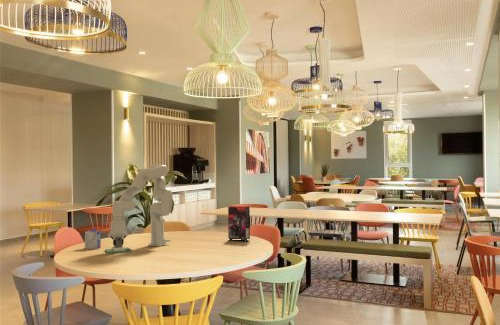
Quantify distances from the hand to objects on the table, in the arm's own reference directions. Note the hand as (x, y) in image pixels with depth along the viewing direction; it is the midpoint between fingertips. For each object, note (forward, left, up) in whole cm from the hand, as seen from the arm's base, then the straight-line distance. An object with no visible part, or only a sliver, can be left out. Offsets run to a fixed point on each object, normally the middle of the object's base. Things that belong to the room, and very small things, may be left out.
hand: (118, 245), depth 310 cm
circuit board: (0, 0, -4) cm, 4 cm away
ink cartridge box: (+14, -22, -4) cm, 26 cm away
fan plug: (0, +2, -2) cm, 3 cm away
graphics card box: (-94, -5, -4) cm, 94 cm away
